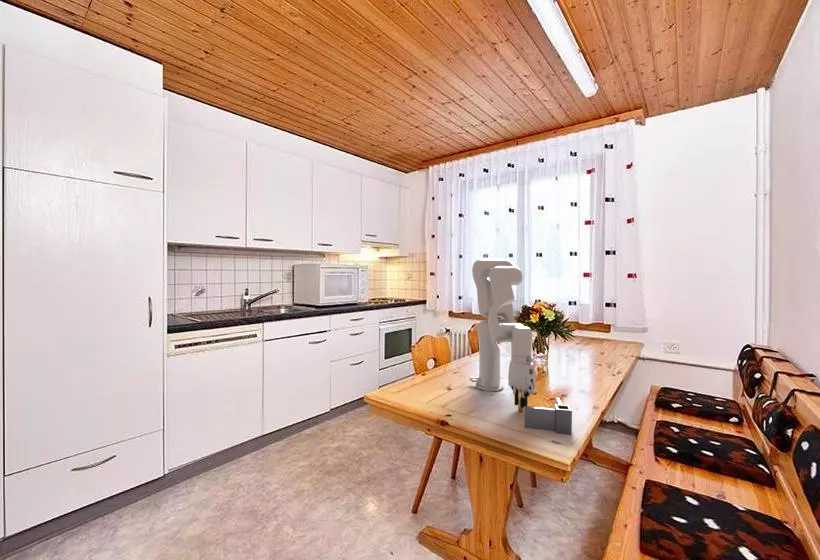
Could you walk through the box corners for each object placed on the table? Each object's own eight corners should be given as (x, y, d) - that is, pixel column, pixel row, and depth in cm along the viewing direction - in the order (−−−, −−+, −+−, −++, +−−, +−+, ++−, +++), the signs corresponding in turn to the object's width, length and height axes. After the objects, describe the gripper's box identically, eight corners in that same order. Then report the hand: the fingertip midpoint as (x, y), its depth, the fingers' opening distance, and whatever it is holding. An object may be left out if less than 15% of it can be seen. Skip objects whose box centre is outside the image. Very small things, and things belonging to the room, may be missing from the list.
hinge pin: (516, 412, 135) (516, 387, 135) (516, 408, 139) (516, 384, 139) (525, 413, 135) (525, 388, 134) (525, 409, 138) (525, 385, 138)
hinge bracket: (524, 429, 121) (524, 406, 120) (522, 412, 135) (522, 391, 135) (571, 434, 117) (571, 410, 117) (564, 416, 131) (564, 395, 131)
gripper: (545, 361, 131) (544, 411, 132) (512, 353, 145) (512, 397, 145) (530, 364, 127) (530, 415, 128) (499, 355, 141) (498, 401, 142)
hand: (520, 405), depth 137 cm, fingers closed on hinge pin, 2 cm apart
